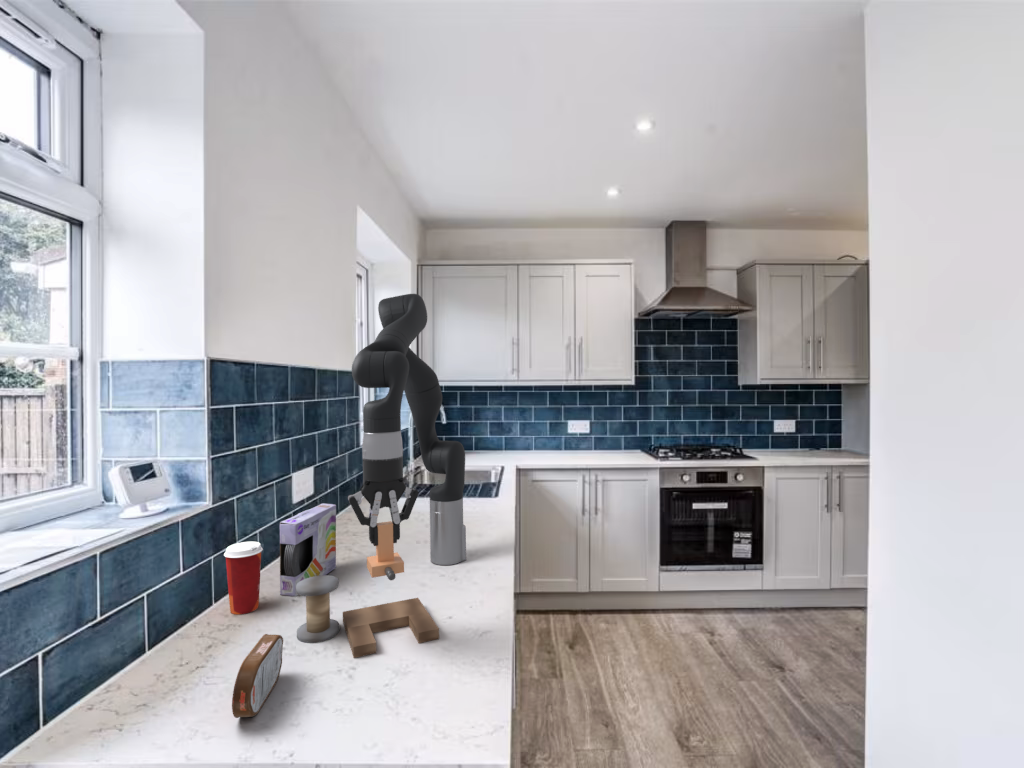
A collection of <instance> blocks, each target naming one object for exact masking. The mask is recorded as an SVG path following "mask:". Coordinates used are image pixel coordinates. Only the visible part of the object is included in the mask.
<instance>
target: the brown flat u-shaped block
mask: <svg viewBox="0 0 1024 768" xmlns="http://www.w3.org/2000/svg"><path fill="white" fill-rule="evenodd" d="M342 624H343V628H344V631H345V633H346V637H347V641H348V643H349V647H350V651H351V653H352V654H351V655H352V657H353V659H355V658H360V657H364V656H365V657H366V656H370V655H373V654H377V641H376V639H375V635H374V634H375V633H380V632H384V631H385V632H386V631H389V630H394V629H398V628H403V627H409V628H410V630H411V632H412V634H413V636H414V638H415V639H416V641H417V643H418V644H422V643H426V642H431V641H435V640H439V639H440V628H439V627H438V624H437V623H436V622H435V621H434V619H433V618H432V615H430V613H429V612H428V610H427V609H426V607H425V605H423V603H422V601H421V600H420V599H419V597H414V598H413V597H412V598H409V599H404V600H398V601H392V602H387V603H382V604H377V605H371V606H366V607H362V608H356V609H350V610H346V611H345V610H344V611H342Z"/></svg>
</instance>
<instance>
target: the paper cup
mask: <svg viewBox="0 0 1024 768" xmlns="http://www.w3.org/2000/svg"><path fill="white" fill-rule="evenodd" d="M263 551H264V549H263V547H262V545H261V543H260V542H258V541H242V542H241V541H240V542H238V543H233V544H231V545H229V546H227V548H226V549H225V552H224V553H223V556H224V557H225V566H226V567H225V568H226V578H227V590H228V602H229V610H230V614H232V615H239V616H240V615H244V614H245V615H246V614H250V613H253V612H255V611H256V610H257V609H258V608H259V604H260V603H259V602H260V587H261V586H260V585H261V570H262V569H261V567H262V564H261V563H262V552H263Z"/></svg>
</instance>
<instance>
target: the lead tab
mask: <svg viewBox="0 0 1024 768" xmlns="http://www.w3.org/2000/svg"><path fill="white" fill-rule="evenodd" d="M377 527H378V546H375V550H376V551H375V555H372V556H371V555H370V556H366V568H367V570H368V573H369V575H370V576H371V578H379V577H385V576H386V577H387V579H388V581H394V580H395V579H396V577H397V574H402V573H405V561H404V560H403V559H402V556H401V555H400V553H398V551H397V552H394V551H395V550H394V549H395V546H394V544H395V543H393V523H392V520H390V521H389V520H388V521H384V522H383V521H382V522H377Z"/></svg>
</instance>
